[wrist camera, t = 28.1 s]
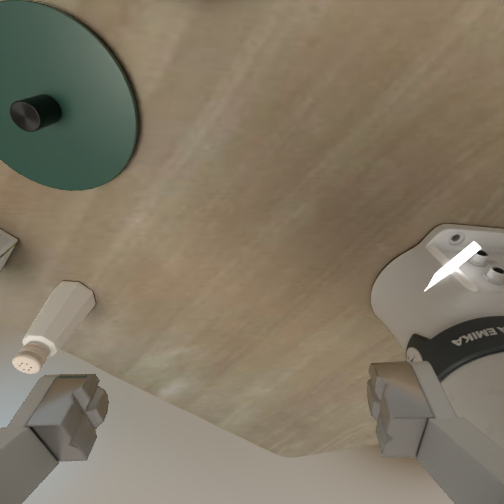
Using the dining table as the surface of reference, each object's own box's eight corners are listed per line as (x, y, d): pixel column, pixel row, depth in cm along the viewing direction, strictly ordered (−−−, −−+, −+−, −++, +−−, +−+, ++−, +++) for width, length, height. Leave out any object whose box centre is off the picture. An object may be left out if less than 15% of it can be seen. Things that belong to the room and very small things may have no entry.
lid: (108, -11, 26) (81, -20, 22) (158, 179, 34) (145, 197, 30) (-77, 14, 27) (-134, 9, 23) (16, 192, 35) (-15, 212, 32)
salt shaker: (44, 285, 42) (-15, 354, 33) (81, 275, 41) (29, 343, 32) (70, 315, 45) (21, 387, 36) (104, 306, 44) (63, 377, 35)
